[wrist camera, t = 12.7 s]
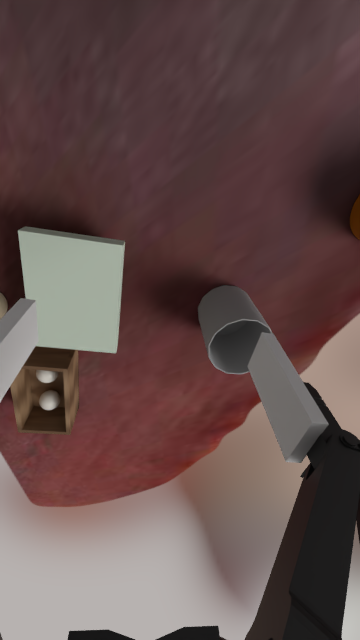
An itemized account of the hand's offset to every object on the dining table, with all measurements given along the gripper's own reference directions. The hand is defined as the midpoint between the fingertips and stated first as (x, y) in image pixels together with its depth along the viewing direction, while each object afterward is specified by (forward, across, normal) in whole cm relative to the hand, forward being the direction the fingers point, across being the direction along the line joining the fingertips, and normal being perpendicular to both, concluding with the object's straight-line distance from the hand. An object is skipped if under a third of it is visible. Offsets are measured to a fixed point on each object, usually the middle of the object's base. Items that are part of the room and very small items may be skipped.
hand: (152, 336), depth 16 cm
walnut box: (+23, -13, -26) cm, 37 cm away
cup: (+24, +12, -10) cm, 28 cm away
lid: (+19, -9, -8) cm, 23 cm away
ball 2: (+20, -13, -29) cm, 38 cm away
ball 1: (+20, -13, -23) cm, 34 cm away
